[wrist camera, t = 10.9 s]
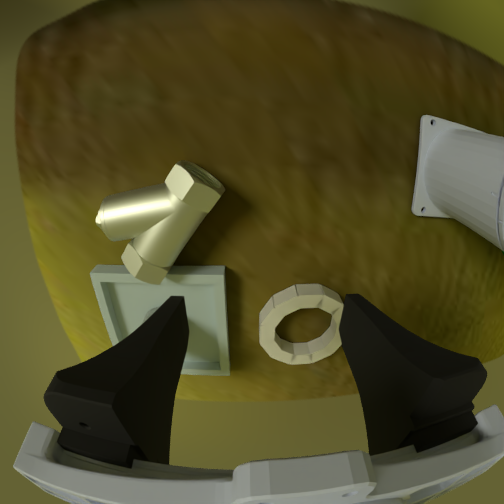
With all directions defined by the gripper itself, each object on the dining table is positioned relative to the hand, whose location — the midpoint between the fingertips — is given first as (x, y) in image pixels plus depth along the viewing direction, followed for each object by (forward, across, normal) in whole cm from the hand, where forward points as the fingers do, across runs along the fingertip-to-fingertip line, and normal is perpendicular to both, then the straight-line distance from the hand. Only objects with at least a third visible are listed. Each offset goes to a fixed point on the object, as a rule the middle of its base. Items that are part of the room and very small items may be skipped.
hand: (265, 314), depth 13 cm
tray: (+9, +8, +8) cm, 15 cm away
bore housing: (+9, -4, +8) cm, 13 cm away
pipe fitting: (+10, +7, -2) cm, 12 cm away
